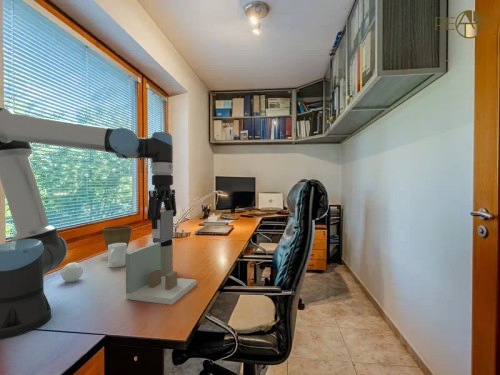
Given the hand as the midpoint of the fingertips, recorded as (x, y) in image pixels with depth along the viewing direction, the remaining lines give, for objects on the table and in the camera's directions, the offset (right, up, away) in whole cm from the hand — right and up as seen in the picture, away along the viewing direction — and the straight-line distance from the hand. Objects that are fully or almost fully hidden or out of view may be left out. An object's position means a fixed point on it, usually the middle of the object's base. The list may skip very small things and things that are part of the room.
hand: (163, 235), depth 99 cm
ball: (-42, -21, +11) cm, 48 cm away
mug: (-33, -21, +31) cm, 50 cm away
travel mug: (-6, -21, +20) cm, 29 cm away
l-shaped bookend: (0, -21, 0) cm, 21 cm away
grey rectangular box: (0, -2, 0) cm, 2 cm away
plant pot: (-42, -21, +51) cm, 69 cm away
